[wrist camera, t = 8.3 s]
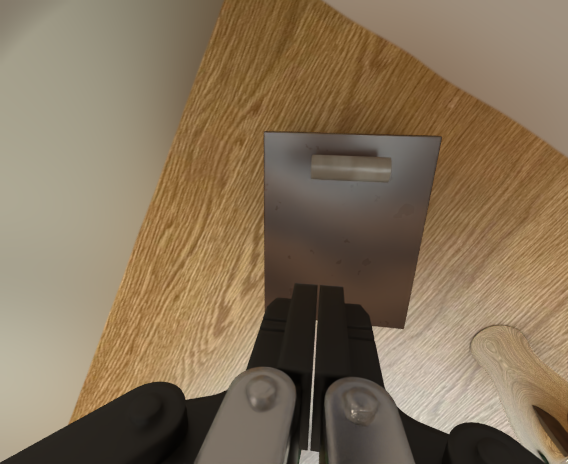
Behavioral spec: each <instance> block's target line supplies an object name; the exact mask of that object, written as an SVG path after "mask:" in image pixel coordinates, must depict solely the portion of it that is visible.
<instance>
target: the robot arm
mask: <svg viewBox="0 0 568 464" xmlns="http://www.w3.org/2000/svg"><path fill="white" fill-rule="evenodd" d="M317 289H318V285H314V284H302V283H295V284H294V289H293V294H292V299H289V298H278V297H277V298H276V299H275V300H273V301H272V302H271V303H270V304H269V305H268V306H267V308H266V311H265V314H264V317H263V320H262V323H261V326H260V330H259V332H258V335H257V338H256V342H255V345H254V348H253V351H252V354H251V357H250V360H249V363H248V366H247V369H246V371H244V372H243V373H241V374H239V375H238V376H237V377H236V378H235V379H234V380H233V381H232V383H231V385H230V386H229V388H228V390H226V391H224V392H222V393H219V394H216V395H212V396H206V397H200V398H194V399H188V400H185V396H184V394H183V392H182V390H181V389H180V388H179V387H177V386H176V385H174V384H171V383H168V382H152V383H148V384H144V385H142V386H139V387H137V388H135V389H133V390H131V391H129V392H128V393H126V394H124V395H122V396H120V397H118V398H117V399H115V400H113V401H111V402H109V403H108V404H106V405H104V406H102V407H100V408H98V409H97V410H95V411H93V412H91V413H89V414H88V415H86V416H84V417H82V418H80V419H79V420H77V421H75V422H73V423H71V424H69V425H68V426H66V427H64V428H62V429H60V430H59V431H57V432H55V433H53V434H51V435H49V436H48V437H46V438H44V439H42V440H40V441H39V442H37V443H35V444H33V445H31V446H29V447H28V448H26V449H24V450H22V451H20V452H19V453H17V454H15V455H13V456H11V457H10V458H8V459H6V460H4V461H2V462H0V464H297V462H298V451H299V449H301V450H308V435H309V419H310V403H311V388H312V372H313V356H314V341H315V324H316V307H317ZM310 451H316V452H319V464H546V463H545V462H543V461H542V460H541V459H539V458H538V457H537V456H535V455H534V454H533V453H532V452H530V451H529V450H528V449H526V448H525V447H524V446H522V445H521V444H520V443H519V442H517V441H516V440H514V439H513V438H512V437H510V436H509V435H507V434H505V433H504V432H502V431H500V430H498V429H496V428H493V427H491V426H488V425H485V424H480V423H473V422H469V423H462V424H459V425H457V426H456V427H454V428H453V429H452V430H451V432H450V434H447V433H444V432H442V431H440V430H437V429H435V428H432V427H430V426H427V425H425V424H423V423H420V422H418V421H416V420H414V419H413V418H411V417H409V416H408V415H406V414H405V413H404V412H402V411H401V410H400V409H399V408H398V407H397V406H396V404H395V402H394V400H393V398H392V397H391V396H390V394H389V393H388V392H387V391H386V390H385V387H384V383H383V378H382V373H381V368H380V363H379V359H378V354H377V349H376V344H375V342H374V335H373V331H372V325H371V320H370V316H369V314H368V313H367V312H366V311H365V310H364V308H363V307H362V306H361V305H360V304H349V303H345V300H344V289H343V287H340V286H328V285H320V290H319V307H318V323H317V340H316V358H315V376H314V395H313V413H312V431H311V449H310Z"/></svg>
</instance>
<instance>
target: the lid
mask: <svg viewBox="0 0 568 464" xmlns="http://www.w3.org/2000/svg"><path fill="white" fill-rule="evenodd" d="M441 140H442V137H441V136H428V135H392V134H356V133H320V132H284V131H265V132H264V269H265V311H266V308H267V306H268V305H269V304H270V303H271V302H272V301H273V300H275V299H276V298H277V297H278V298H289V299H292V294H293V289H294V284H295V283H302V284H314V285H318V289H317V307H316V320H318V307H319V290H320V285H328V286H340V287H343V289H344V300H345V303H349V304H360V305H361V306H362V307H363V308H364V310H365V311H366V312H367V313H368V314H369V316H370V320H371V325H372V326H378V327H388V328H398V329H404V326H405V321H406V316H407V311H408V306H409V301H410V296H411V291H412V286H413V281H414V276H415V271H416V265H417V260H418V255H419V250H420V245H421V240H422V235H423V230H424V225H425V220H426V215H427V210H428V205H429V200H430V195H431V190H432V185H433V180H434V175H435V170H436V165H437V160H438V155H439V150H440V145H441Z"/></svg>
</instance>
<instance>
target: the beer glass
mask: <svg viewBox="0 0 568 464" xmlns="http://www.w3.org/2000/svg"><path fill="white" fill-rule="evenodd" d="M471 353H472V356H473V357H474V359H475V360H476V361H477V362H478V363H479V364H480V365H481V366H482V368H483V369H484V370H485V371H486V372H487V373H488V375H489V376H490V378H491V380H492V382H493V384H494V386H495V389H496V392H497V394H498V397H499V400H500V402H501V405H502V407H503V410H504V413H505V415H506V417H507V419H508V422H509V424H510V426H511V428H512V430H513V432H514V433H515V435H516V437H517V439H518V441H519V442H520V444H521V445H522V446H524V447H525V448H526V449H528V450H529V451H530V452H532V453H533V454H534V455H535V456H537V457H538V458H539V459H541V460H542V461H543V462H545V463H546V464H568V382H567V381H566V380H565V379H564V378H563V377H561V376H560V375H559V374H557V373H556V372H555V371H554V370H552V369H551V368H550V367H549V366H547V365H546V364H545V363H544V362H543V361H542V360H541V359H540V358H539V357H538V356H537V355H536V354H535V353H534V351H533V350H532V348H531V347H530V345H529V343H528V341H527V339H526V338H525V336H524V335H523V334H522V333H521V332H520V331H518V330H517V329H515V328H513V327H510V326H504V325H498V326H492V327H488V328H486V329H484V330H482V331H480V332H479V333H478V334H477V335H476V336H475V337H474V338H473V340H472V342H471Z"/></svg>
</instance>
